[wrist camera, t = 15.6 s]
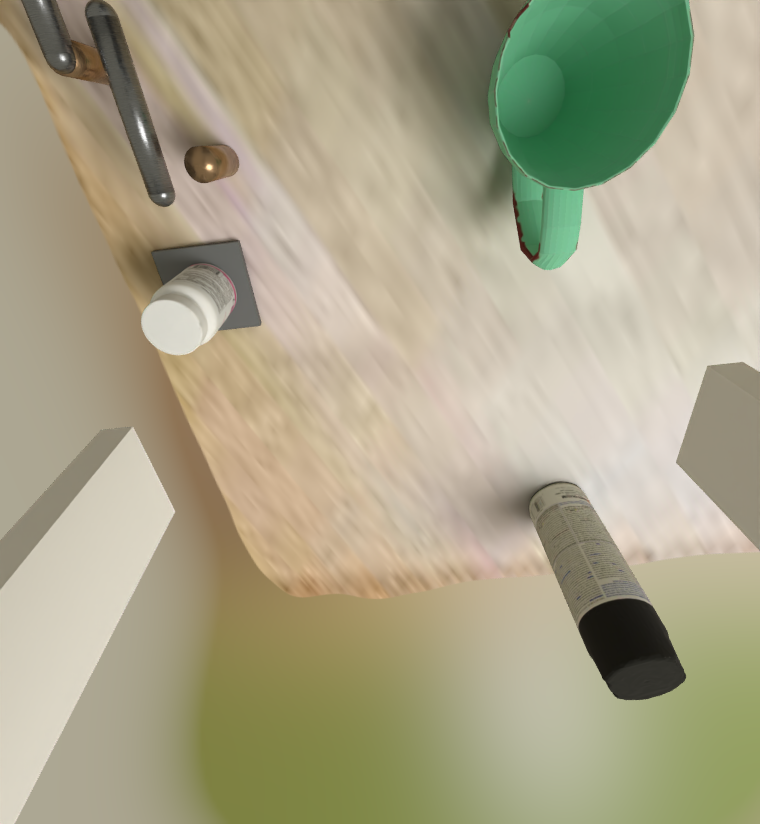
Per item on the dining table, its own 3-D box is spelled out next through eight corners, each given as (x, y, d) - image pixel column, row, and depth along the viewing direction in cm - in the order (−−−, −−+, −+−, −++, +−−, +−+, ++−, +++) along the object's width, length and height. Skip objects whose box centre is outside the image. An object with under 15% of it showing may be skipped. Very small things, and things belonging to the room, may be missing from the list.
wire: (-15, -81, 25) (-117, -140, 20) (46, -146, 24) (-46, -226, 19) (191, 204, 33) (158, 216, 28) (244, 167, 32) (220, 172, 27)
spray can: (538, 529, 54) (617, 710, 37) (517, 495, 50) (593, 675, 34) (591, 508, 52) (699, 688, 35) (573, 471, 49) (683, 648, 32)
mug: (461, 10, 28) (502, -46, 19) (615, -4, 28) (724, -66, 19) (456, 249, 36) (483, 283, 27) (576, 239, 36) (641, 271, 27)
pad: (154, 250, 35) (151, 252, 35) (239, 240, 35) (237, 242, 34) (184, 332, 39) (181, 334, 38) (261, 323, 39) (260, 325, 38)
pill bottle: (208, 328, 38) (171, 372, 31) (167, 282, 36) (117, 318, 29) (250, 300, 37) (222, 338, 30) (210, 250, 35) (169, 279, 28)
